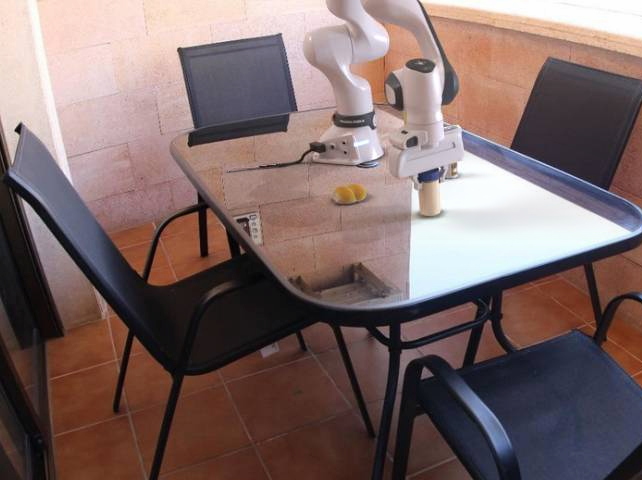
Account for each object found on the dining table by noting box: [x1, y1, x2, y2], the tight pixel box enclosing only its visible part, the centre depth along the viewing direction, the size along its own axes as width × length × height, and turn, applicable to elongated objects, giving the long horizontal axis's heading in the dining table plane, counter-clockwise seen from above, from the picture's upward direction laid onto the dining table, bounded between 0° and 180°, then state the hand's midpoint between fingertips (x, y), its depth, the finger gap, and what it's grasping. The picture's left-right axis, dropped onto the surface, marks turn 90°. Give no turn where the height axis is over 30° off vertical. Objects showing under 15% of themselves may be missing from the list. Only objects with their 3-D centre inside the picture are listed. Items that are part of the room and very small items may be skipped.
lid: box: [416, 167, 440, 182], centre depth 165 cm, size 6×6×2 cm
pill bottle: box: [445, 162, 459, 179], centre depth 191 cm, size 4×4×8 cm
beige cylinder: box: [417, 178, 442, 217], centre depth 168 cm, size 5×5×11 cm
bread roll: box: [332, 183, 367, 205], centre depth 181 cm, size 8×9×4 cm
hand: (429, 185), depth 167 cm, fingers closed on beige cylinder, 5 cm apart
